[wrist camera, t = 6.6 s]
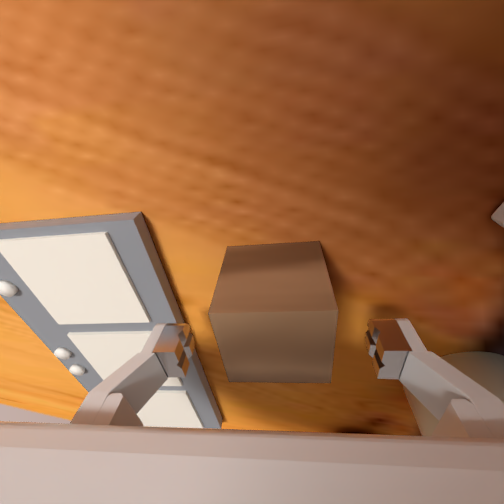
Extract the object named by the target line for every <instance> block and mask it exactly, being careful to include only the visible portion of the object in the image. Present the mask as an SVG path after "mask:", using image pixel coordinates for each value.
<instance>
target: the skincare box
mask: <svg viewBox="0 0 504 504" xmlns="http://www.w3.org/2000/svg"><path fill="white" fill-rule="evenodd" d="M491 219H492V220H494V221H495V222H496V223H498V224H499V225H501V226H502V227H504V202H503V203H502V204H501V205H500V206H499V207H498V209H497V210H496V211H495V212H494V213H493V214H492V216H491Z"/></svg>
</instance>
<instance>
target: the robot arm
mask: <svg viewBox="0 0 504 504" xmlns="http://www.w3.org/2000/svg"><path fill="white" fill-rule="evenodd" d="M367 326H368V329H369V330H368V331H367V332H366V336H365V342H366V348H367V351H368V354H369V355H370V356H371V357H372V358H373V361H372V365H373V368H374V371H375V374H376V376H377V379H399V381H400V382H401V383H402V384H403V385H404V386H405V387H406V388H407V389H408V390H409V391H410V392H411V393H412V394H413V395H414V396H415V397H416V398H417V399H418V400H419V401H420V402H421V403H422V404H423V405H424V406H425V407H426V408H427V409H428V410H429V411H430V412H431V413H432V414H433V415H434V416H435V417H436V418H437V419H438V420H439V423H438V424H437V426H436V428H435V430H434V431H433V433H432V436H408V435H379V434H351V433H322V432H294V431H265V430H235V429H206V428H177V427H147V426H144V425H143V422H142V421H141V419H140V418H139V417H138V415H137V413H138V412H139V411H140V410H141V409H142V408H143V406H144V405H145V404H146V403H147V402H148V401H149V400H150V398H151V397H152V396H153V395H154V394H155V393H156V392H157V390H158V389H159V388H160V387H161V386H162V385H163V384H164V382H165V381H166V380H167V379H168V378H169V377H186V374H187V371H188V368H189V364H190V363H189V361H188V359H189V358H190V357H191V356H192V355H193V351H194V345H195V342H194V337H193V335H192V334H191V333H190V329H191V328H190V326H189V324H187V323H157V324H156V325H155V326H154V328H153V330H152V332H151V334H150V336H149V338H148V340H147V341H146V343H145V345H144V347H143V349H142V351H141V353H137V354H136V355H135V356H133V357H132V358H131V359H130V360H128V361H127V362H126V363H125V364H123V365H122V366H121V367H120V368H118V369H117V370H116V371H115V372H113V373H112V374H111V375H110V376H108V377H107V378H106V379H105V380H103V381H102V382H101V383H100V384H98V385H97V386H96V387H95V388H93V389H92V390H91V391H90V392H89V393H88V395H87V396H86V398H85V400H84V401H83V403H82V404H81V406H80V408H79V409H78V411H77V413H76V414H75V416H74V417H73V419H72V421H71V422H70V424H59V423H58V424H57V423H29V422H4V421H0V504H504V404H503V403H502V402H501V400H500V399H499V398H498V397H496V396H495V395H493V394H492V393H491V392H489V391H488V390H486V389H485V388H483V387H482V386H481V385H479V384H478V383H476V382H475V381H473V380H472V379H470V378H469V377H468V376H466V375H465V374H463V373H462V372H460V371H459V370H458V369H456V368H455V367H453V366H452V365H450V364H449V363H448V362H446V361H445V360H443V359H442V358H440V357H439V356H438V355H436V354H435V353H433V352H432V351H427V349H426V348H425V346H424V344H423V343H422V341H421V339H420V337H419V336H418V334H417V332H416V331H415V329H414V327H413V326H412V324H411V322H410V321H409V320H408V319H407V318H401V319H369V321H368V324H367Z"/></svg>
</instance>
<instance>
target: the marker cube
mask: <svg viewBox="0 0 504 504" xmlns="http://www.w3.org/2000/svg"><path fill="white" fill-rule="evenodd" d="M208 315H209V318H210V321H211V324H212V328H213V331H214V334H215V338H216V341H217V344H218V347H219V351H220V354H221V357H222V360H223V364H224V367H225V370H226V374H227V377H228V380H229V382H272V383H331V377H332V368H333V358H334V348H335V339H336V329H337V319H338V307H337V303H336V300H335V296H334V293H333V289H332V285H331V282H330V278H329V274H328V271H327V267H326V264H325V260H324V256H323V253H322V249H321V245H320V242H319V241H313V242H296V243H279V244H262V245H245V246H228V247H227V250H226V253H225V257H224V260H223V264H222V267H221V271H220V274H219V278H218V281H217V285H216V288H215V291H214V295H213V298H212V302H211V305H210V309H209V312H208Z"/></svg>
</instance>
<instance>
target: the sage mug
mask: <svg viewBox="0 0 504 504" xmlns="http://www.w3.org/2000/svg"><path fill="white" fill-rule="evenodd" d="M440 358H442V359H443V360H445V361H446V362H448V363H449V364H450V365H452V366H453V367H455V368H456V369H458V370H459V371H460V372H462V373H463V374H465V375H466V376H468V377H469V378H470V379H472V380H473V381H475V382H476V383H478V384H479V385H481V386H482V387H483V388H485V389H486V390H488V391H489V392H491V393H492V394H493V395H495V396H496V397H498V398H499V399H500V400H501V402H502V403H503V404H504V356H503V355H500V354H496V353H491V352H480V351H473V352H460V353H454V354H449V355H445V356H442V357H440ZM403 390H404V393H405V395H406V398H407V400H408V402H409V405H410V407H411V410H412V412H413V415H414V417H415V419H416V422H417V424H418V427H419V429H420V432H421V434H422V436H432V433H433V431H434V430H435V428H436V426H437V424H438V423H439V420H438V419H437V418H436V417H435V416H434V415H433V414H432V413H431V412H430V411H429V410H428V409H427V408H426V407H425V406H424V405H423V404H422V403H421V402H420V401H419V400H418V399H417V398H416V397H415V396H414V395H413V394H412V393H411V392H410V391H409V390H408V389H407V388H406V387H405V386H404V385H403Z"/></svg>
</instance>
